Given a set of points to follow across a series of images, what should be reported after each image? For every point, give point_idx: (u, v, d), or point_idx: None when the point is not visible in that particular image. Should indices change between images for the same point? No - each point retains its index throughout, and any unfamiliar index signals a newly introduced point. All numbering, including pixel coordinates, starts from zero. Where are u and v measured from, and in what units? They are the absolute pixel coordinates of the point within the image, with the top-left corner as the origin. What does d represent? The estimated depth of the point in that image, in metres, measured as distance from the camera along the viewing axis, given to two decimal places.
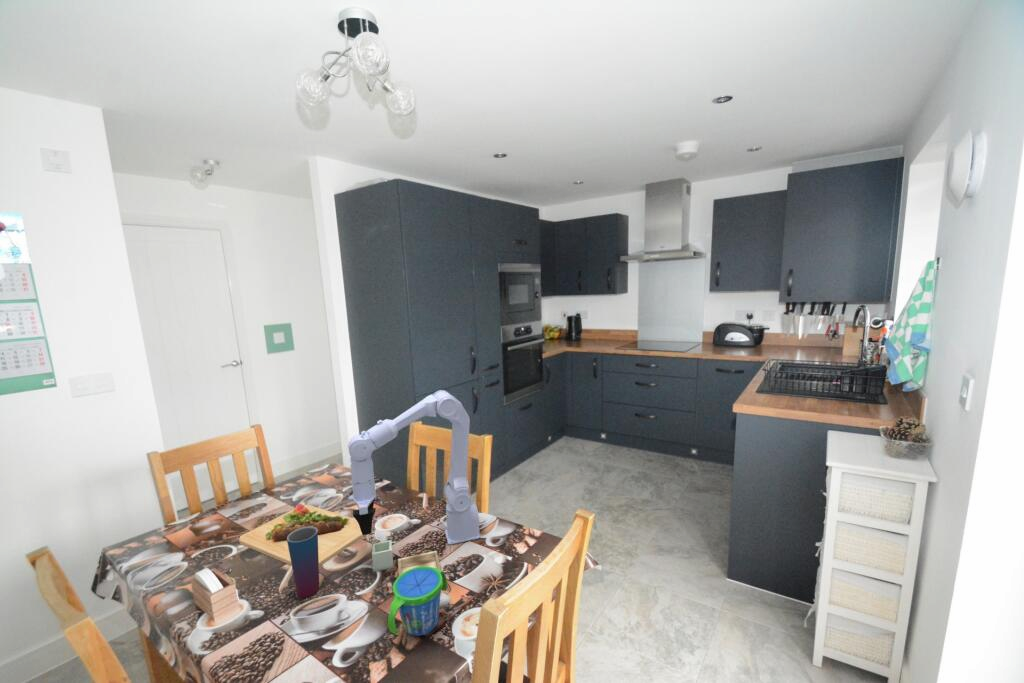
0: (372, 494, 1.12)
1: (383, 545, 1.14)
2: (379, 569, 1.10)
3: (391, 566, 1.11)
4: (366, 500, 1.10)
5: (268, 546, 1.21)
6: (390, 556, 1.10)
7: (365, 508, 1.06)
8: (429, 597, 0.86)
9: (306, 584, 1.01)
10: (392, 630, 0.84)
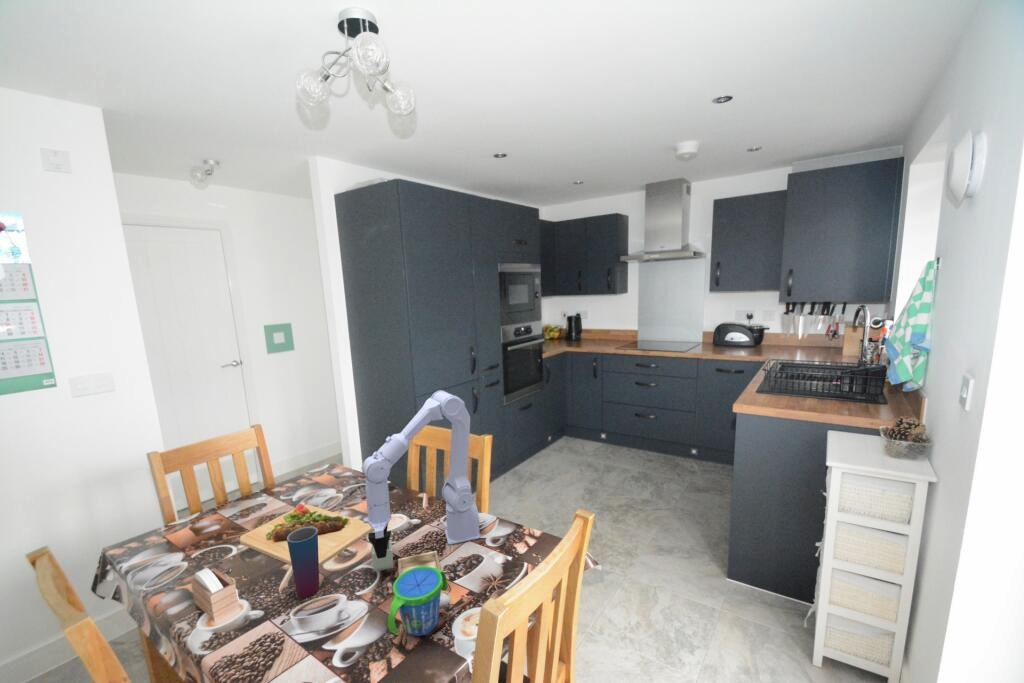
0: (387, 516, 1.10)
1: None
2: (379, 569, 1.10)
3: (391, 566, 1.11)
4: (381, 523, 1.08)
5: (269, 546, 1.21)
6: (390, 556, 1.10)
7: (381, 532, 1.04)
8: (429, 597, 0.86)
9: (306, 584, 1.01)
10: (392, 630, 0.84)
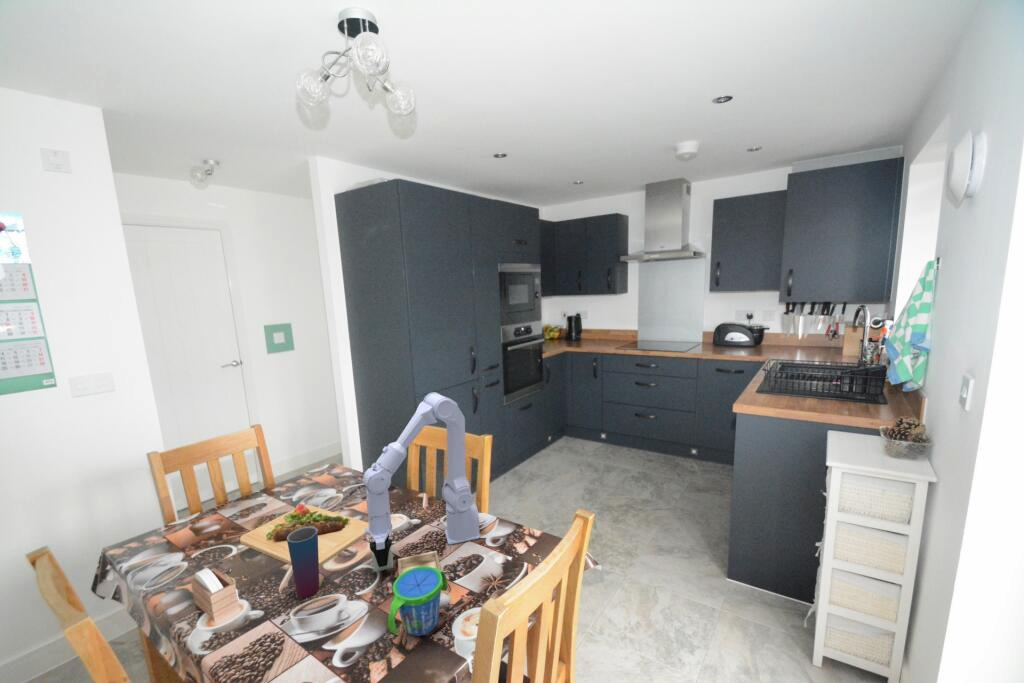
0: (388, 527, 1.10)
1: None
2: (379, 569, 1.10)
3: (391, 566, 1.11)
4: (382, 534, 1.09)
5: (269, 546, 1.21)
6: (390, 556, 1.10)
7: (382, 543, 1.05)
8: (429, 597, 0.86)
9: (306, 584, 1.01)
10: (392, 630, 0.84)
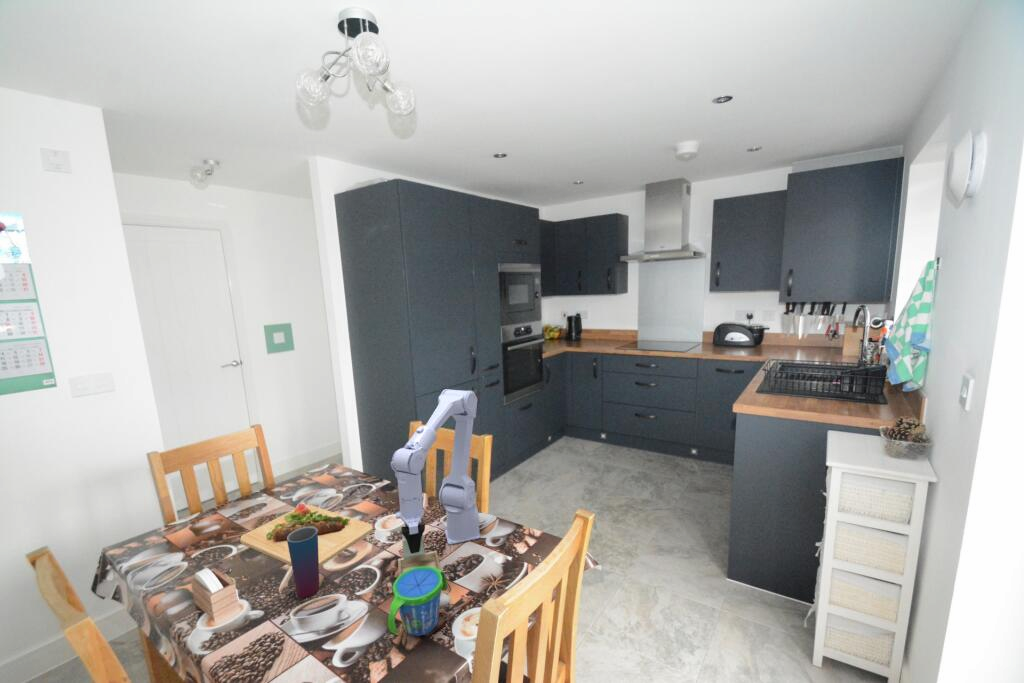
0: (420, 511, 1.04)
1: None
2: (410, 557, 1.04)
3: (422, 554, 1.04)
4: (415, 518, 1.02)
5: (269, 546, 1.21)
6: (421, 543, 1.04)
7: (416, 527, 0.98)
8: (429, 597, 0.86)
9: (306, 584, 1.01)
10: (392, 630, 0.84)
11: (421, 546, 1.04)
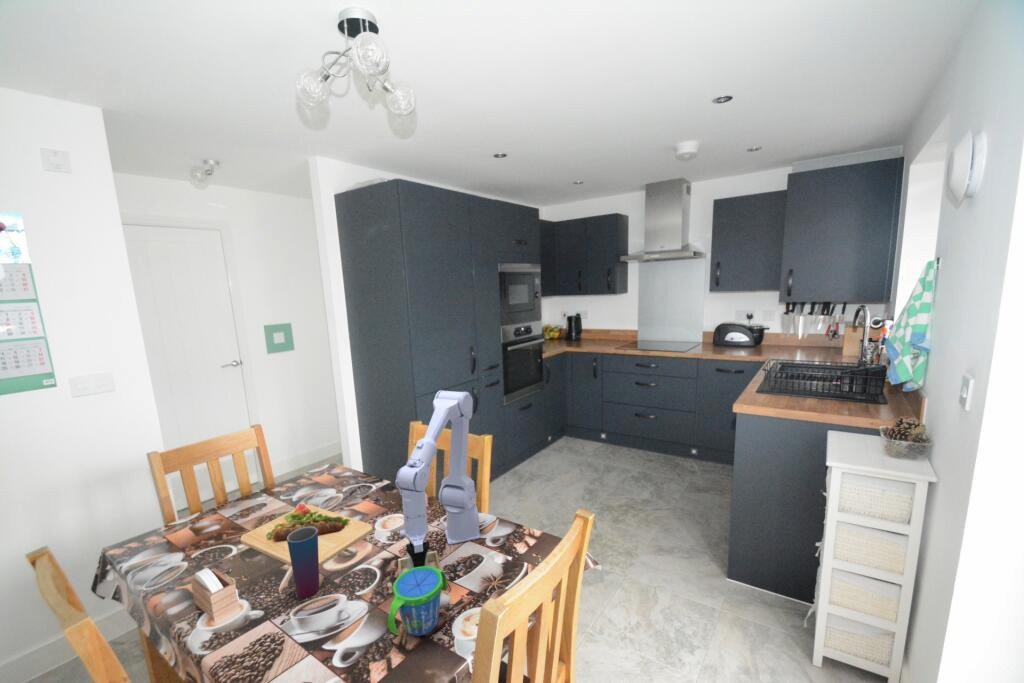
0: (425, 529, 1.04)
1: None
2: None
3: None
4: (419, 535, 1.02)
5: (269, 546, 1.21)
6: (426, 561, 1.04)
7: (421, 546, 0.98)
8: (429, 597, 0.86)
9: (306, 584, 1.01)
10: (392, 630, 0.84)
11: (426, 563, 1.04)
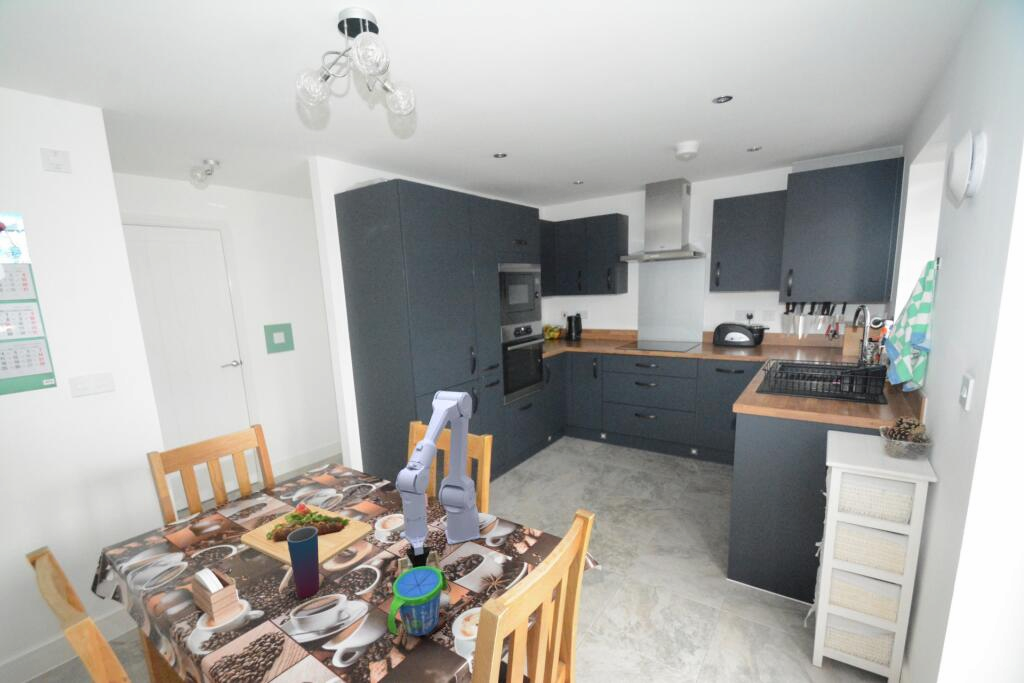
0: (425, 531, 1.04)
1: None
2: None
3: None
4: (419, 538, 1.02)
5: (269, 546, 1.21)
6: None
7: (421, 548, 0.98)
8: (429, 597, 0.86)
9: (306, 584, 1.01)
10: (392, 630, 0.84)
11: None
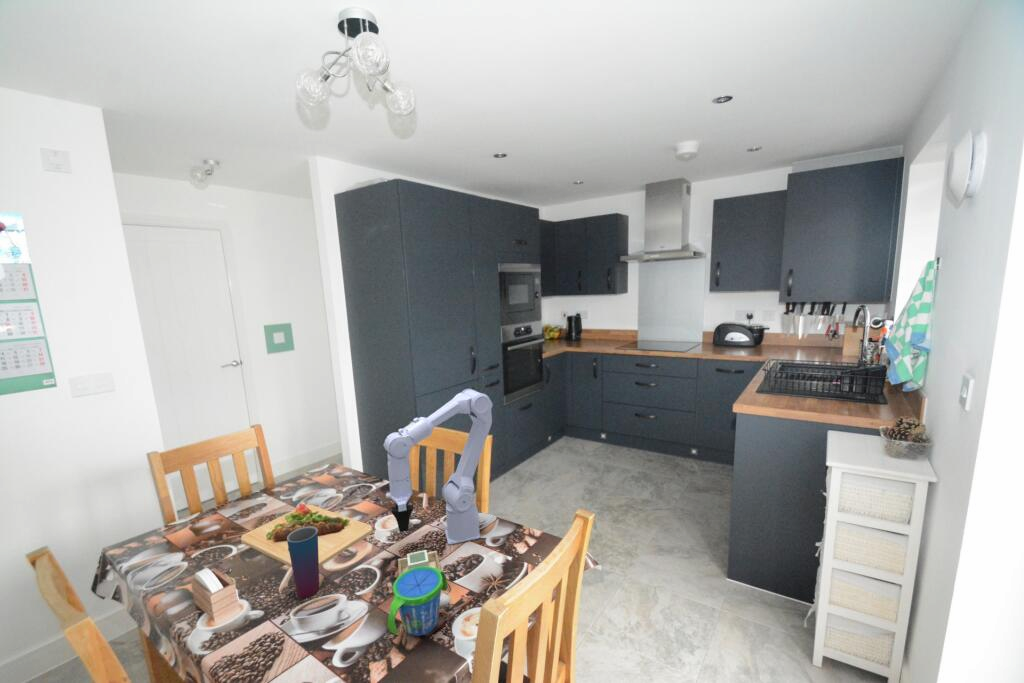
0: (409, 491, 1.13)
1: (418, 555, 1.08)
2: None
3: None
4: (403, 497, 1.11)
5: (269, 546, 1.21)
6: None
7: (404, 505, 1.07)
8: (429, 597, 0.86)
9: (306, 584, 1.01)
10: (392, 630, 0.84)
11: None
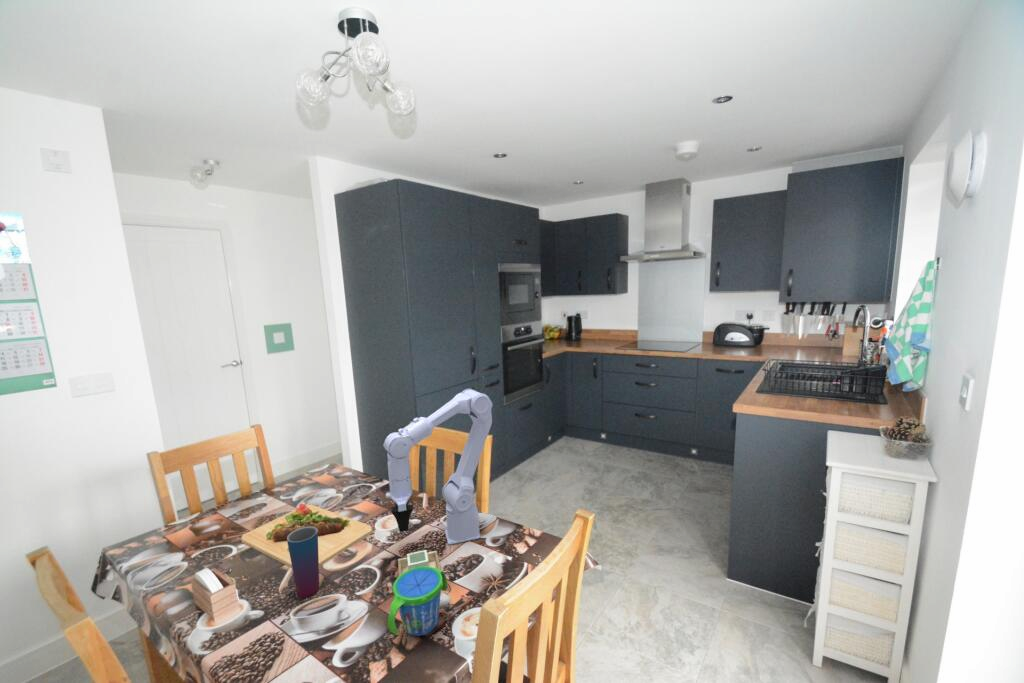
0: (409, 491, 1.13)
1: (418, 555, 1.08)
2: None
3: None
4: (403, 497, 1.11)
5: (268, 546, 1.21)
6: None
7: (404, 505, 1.07)
8: (429, 597, 0.86)
9: (306, 584, 1.01)
10: (392, 630, 0.84)
11: None
